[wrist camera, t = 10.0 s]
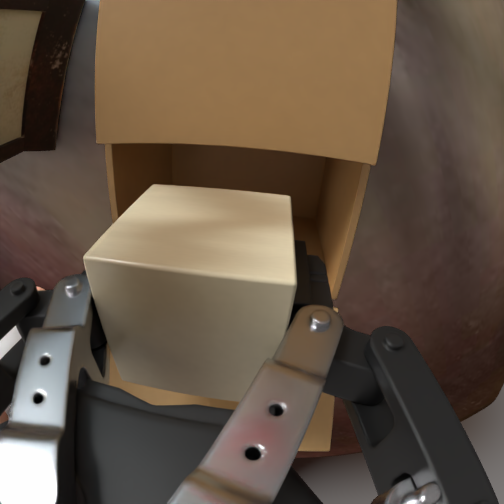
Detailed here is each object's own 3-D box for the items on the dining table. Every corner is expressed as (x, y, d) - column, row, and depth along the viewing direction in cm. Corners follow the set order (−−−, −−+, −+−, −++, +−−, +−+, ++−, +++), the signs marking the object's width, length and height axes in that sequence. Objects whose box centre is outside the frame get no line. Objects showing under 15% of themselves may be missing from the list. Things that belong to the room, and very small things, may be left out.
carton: (319, 221, 24) (338, 309, 15) (170, 206, 24) (115, 283, 16) (346, 29, 16) (399, -4, 7) (174, 18, 16) (100, -13, 8)
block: (291, 194, 11) (298, 283, 6) (274, 305, 13) (270, 406, 9) (152, 183, 11) (80, 256, 7) (161, 291, 13) (121, 381, 9)
